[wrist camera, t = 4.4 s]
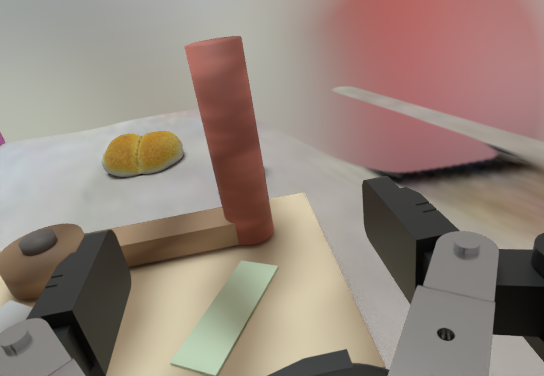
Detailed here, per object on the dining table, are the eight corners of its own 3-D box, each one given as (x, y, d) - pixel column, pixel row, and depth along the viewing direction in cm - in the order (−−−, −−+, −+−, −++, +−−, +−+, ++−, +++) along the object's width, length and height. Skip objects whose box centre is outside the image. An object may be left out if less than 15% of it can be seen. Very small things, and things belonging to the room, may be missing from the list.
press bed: (-219, 535, 16) (-318, 470, 13) (-13, 277, 30) (-45, 226, 28) (385, 397, 17) (384, 318, 15) (306, 214, 31) (300, 160, 29)
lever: (-6, 306, 23) (-133, 106, 17) (29, 255, 27) (-62, 83, 22) (279, 248, 24) (244, 41, 18) (268, 208, 28) (238, 32, 23)
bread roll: (180, 172, 43) (170, 138, 42) (101, 184, 43) (88, 151, 42) (189, 145, 51) (182, 116, 49) (122, 156, 51) (111, 127, 49)
